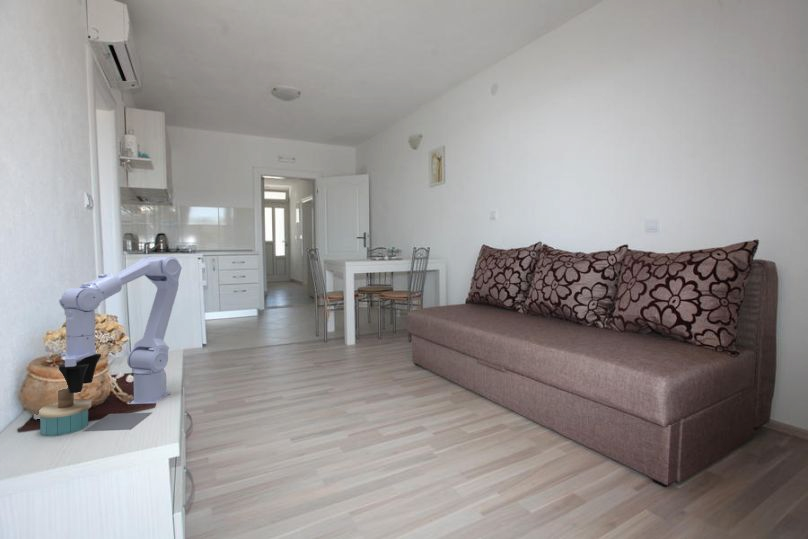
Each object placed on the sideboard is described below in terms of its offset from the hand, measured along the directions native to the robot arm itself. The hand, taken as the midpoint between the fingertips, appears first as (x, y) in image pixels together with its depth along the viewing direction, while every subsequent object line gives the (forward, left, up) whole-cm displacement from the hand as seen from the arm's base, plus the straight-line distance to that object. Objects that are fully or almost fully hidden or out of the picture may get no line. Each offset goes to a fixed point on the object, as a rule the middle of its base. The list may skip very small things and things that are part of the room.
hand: (81, 387), depth 102 cm
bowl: (+2, -2, -10) cm, 10 cm away
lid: (+2, -2, -5) cm, 6 cm away
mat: (-1, +9, -10) cm, 13 cm away
